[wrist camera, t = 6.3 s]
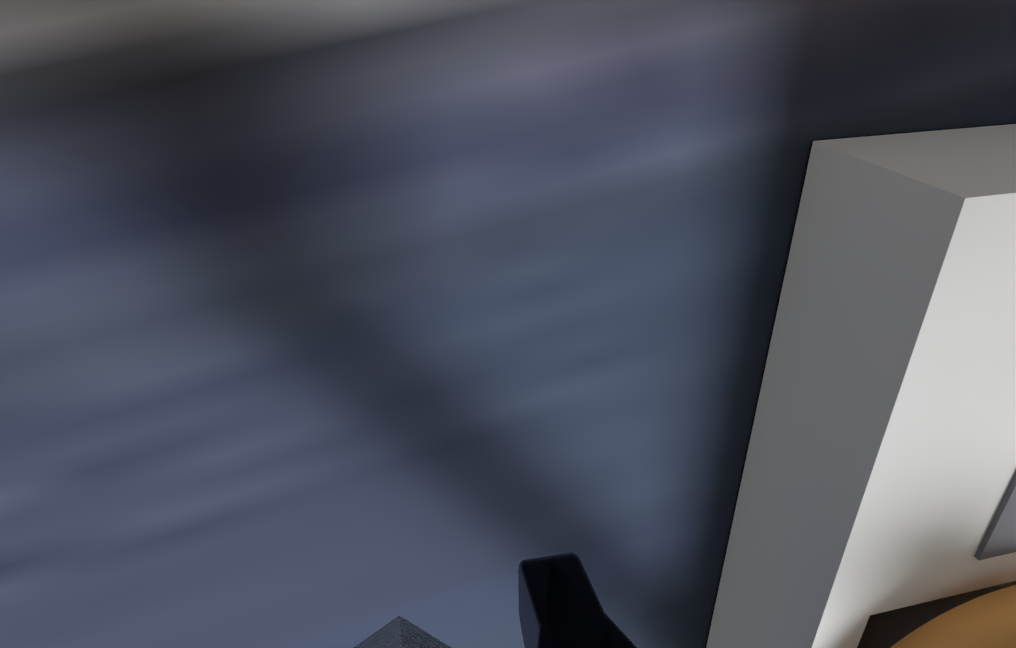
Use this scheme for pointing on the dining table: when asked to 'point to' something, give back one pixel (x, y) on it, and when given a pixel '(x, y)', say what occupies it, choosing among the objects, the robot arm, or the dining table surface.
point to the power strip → (883, 395)
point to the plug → (948, 622)
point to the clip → (401, 637)
